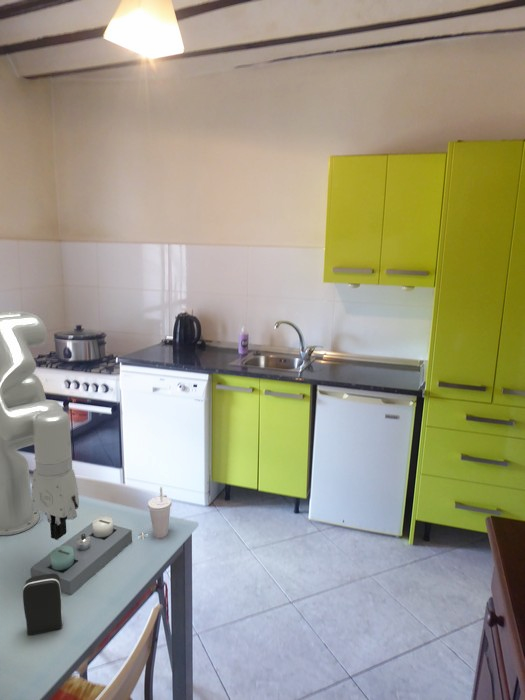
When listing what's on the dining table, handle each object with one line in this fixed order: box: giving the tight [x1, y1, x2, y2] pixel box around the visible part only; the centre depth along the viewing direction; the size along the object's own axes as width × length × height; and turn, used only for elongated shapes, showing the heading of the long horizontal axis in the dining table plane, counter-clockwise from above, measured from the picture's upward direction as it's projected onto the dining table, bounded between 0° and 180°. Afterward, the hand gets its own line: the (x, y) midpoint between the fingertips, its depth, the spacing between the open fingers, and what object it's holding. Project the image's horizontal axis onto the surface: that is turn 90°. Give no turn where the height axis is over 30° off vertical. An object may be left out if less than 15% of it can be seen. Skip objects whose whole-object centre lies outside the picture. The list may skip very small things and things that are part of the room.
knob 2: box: [92, 516, 114, 540], centre depth 125 cm, size 5×5×6 cm
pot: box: [77, 534, 91, 551], centre depth 118 cm, size 3×3×4 cm
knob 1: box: [49, 545, 74, 573], centre depth 112 cm, size 5×5×6 cm
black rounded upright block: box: [22, 573, 64, 636], centre depth 97 cm, size 7×4×11 cm, turn 108°
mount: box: [29, 521, 133, 596], centre depth 119 cm, size 12×22×4 cm, turn 158°
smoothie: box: [147, 486, 173, 539], centre depth 129 cm, size 6×6×14 cm
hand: (58, 535), depth 112 cm, fingers closed
